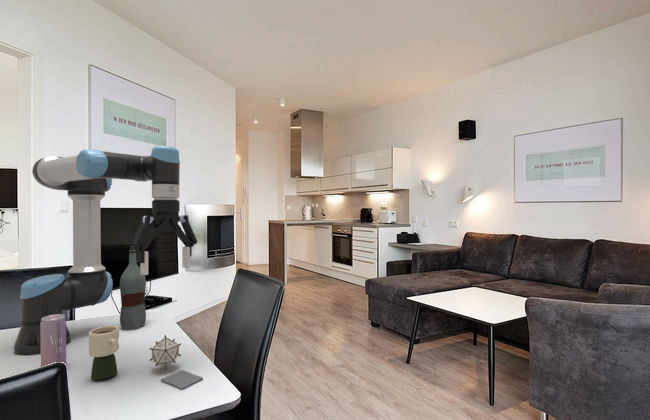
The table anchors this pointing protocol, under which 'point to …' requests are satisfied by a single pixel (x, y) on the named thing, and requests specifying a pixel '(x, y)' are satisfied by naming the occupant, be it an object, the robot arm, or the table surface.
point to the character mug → (103, 351)
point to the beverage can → (53, 339)
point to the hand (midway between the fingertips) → (166, 271)
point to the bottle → (132, 296)
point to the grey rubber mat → (181, 379)
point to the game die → (165, 352)
